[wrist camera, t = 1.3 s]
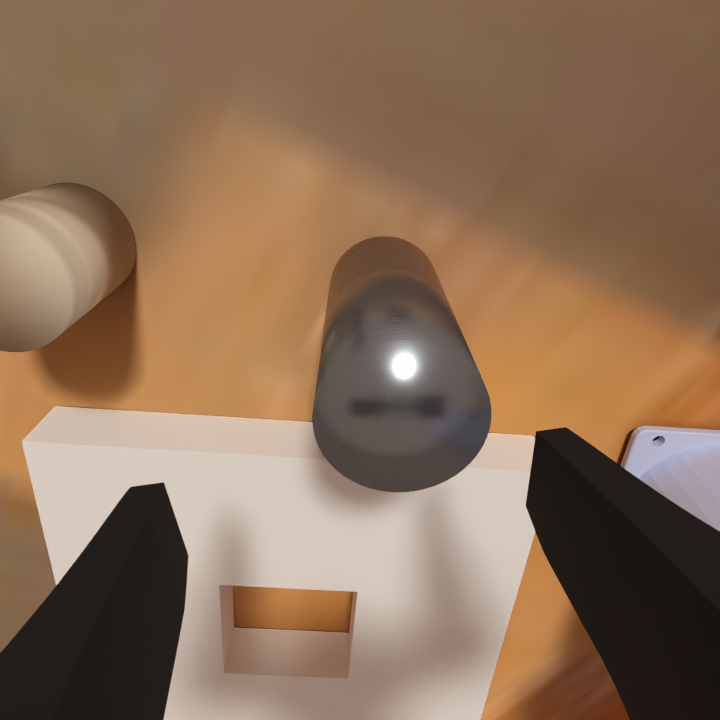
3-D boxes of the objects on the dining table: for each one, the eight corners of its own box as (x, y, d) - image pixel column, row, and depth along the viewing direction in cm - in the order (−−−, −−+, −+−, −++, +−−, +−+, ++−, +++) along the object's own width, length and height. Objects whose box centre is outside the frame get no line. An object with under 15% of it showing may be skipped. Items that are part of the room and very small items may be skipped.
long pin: (444, 240, 19) (507, 347, 11) (429, 342, 21) (475, 497, 13) (332, 232, 19) (316, 334, 11) (327, 335, 21) (309, 487, 13)
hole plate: (533, 435, 23) (552, 472, 21) (459, 717, 32) (467, 764, 30) (54, 406, 22) (21, 441, 20) (114, 704, 31) (96, 751, 29)
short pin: (130, 187, 19) (58, 218, 14) (141, 298, 20) (81, 356, 16) (10, 178, 18) (-101, 206, 14) (32, 290, 20) (-60, 347, 16)
